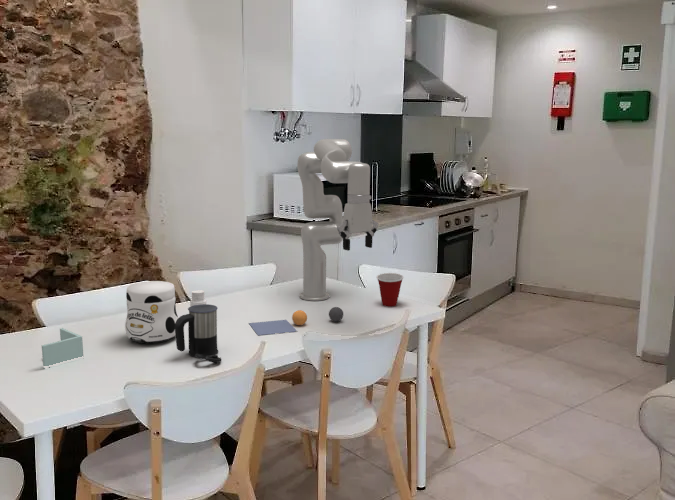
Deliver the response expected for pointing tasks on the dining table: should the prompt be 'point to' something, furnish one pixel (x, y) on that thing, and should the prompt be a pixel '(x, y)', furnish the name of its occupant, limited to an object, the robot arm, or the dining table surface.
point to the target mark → (272, 327)
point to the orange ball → (299, 317)
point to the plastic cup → (389, 288)
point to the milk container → (151, 312)
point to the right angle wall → (63, 348)
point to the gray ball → (336, 314)
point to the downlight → (197, 298)
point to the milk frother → (199, 332)
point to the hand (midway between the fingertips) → (357, 248)
